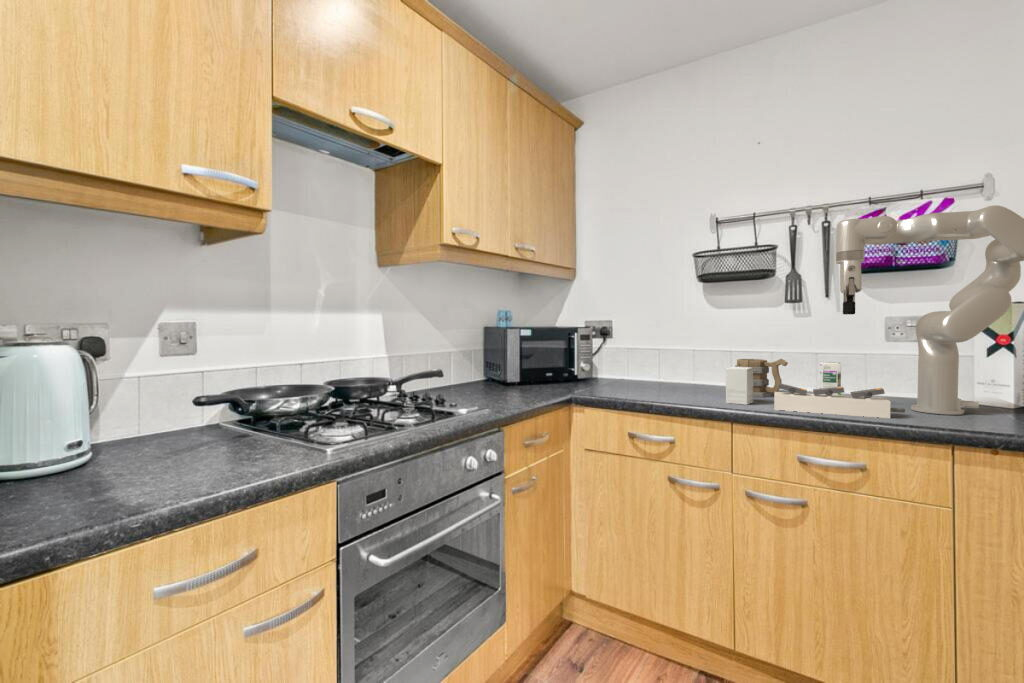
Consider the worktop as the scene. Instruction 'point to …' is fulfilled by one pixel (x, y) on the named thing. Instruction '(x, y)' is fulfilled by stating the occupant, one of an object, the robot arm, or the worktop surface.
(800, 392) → the rocker
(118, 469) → the worktop surface
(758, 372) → the tankard
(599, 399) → the worktop surface
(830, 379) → the syrup box
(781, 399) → the power strip
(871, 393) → the rocker
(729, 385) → the supplement box
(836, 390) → the rocker
